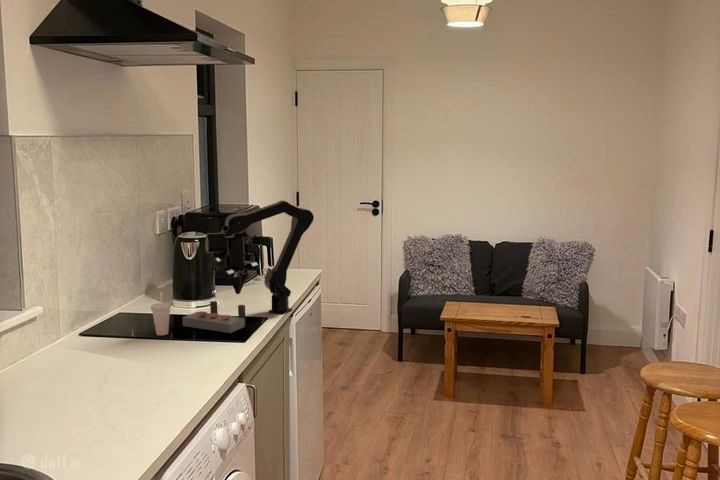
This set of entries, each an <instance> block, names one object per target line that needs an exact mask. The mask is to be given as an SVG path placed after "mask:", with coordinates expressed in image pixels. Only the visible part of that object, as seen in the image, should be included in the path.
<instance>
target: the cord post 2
mask: <svg viewBox="0 0 720 480" xmlns="http://www.w3.org/2000/svg"><path fill="white" fill-rule="evenodd" d="M237 311H238V313H237V315H238V317H239V318H245V324H246V321H247V319H246V305H245V304H238V306H237Z"/></svg>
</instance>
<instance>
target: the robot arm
mask: <svg viewBox="0 0 720 480" xmlns="http://www.w3.org/2000/svg"><path fill="white" fill-rule="evenodd" d="M283 213H285V214H286V215H288V216H289V217H291V221H290V222H291V223H290V230H289V234H288V235H287V237H286V240H285V243H284V244H283V247H282V249H281V252H280V254H279V256H278V258H277V261H276V263H275V265H274V266H273V268H272V269H271V268H269V267H267V271H266V274H265V275H264V276H263V279H264V280H263V281H264V282H263V284H264V286H265V288H266V289H267V290H268V291H269V292H270V294H272V295H271V309H269V310H268V313H275V314H282V315H283V314H287V313H289V312H291V311H293V308H291V307H290V306H289V304H290V302H289V298H290V296H291V292H292V291H291V290H290V289H289V288H288V287H287V286H286V282H287V274H288V268H289V267H290V264H291V262H292V260H293V257H294V255H295V252H296V250H297V248H298V245H299V243H300V240H301V239H302V237H303V235H304V234H305V233H306V231H308V229H309V228H310V227H311V225H312V223H313V221H314V218H315V217H314V213H313V212H312V211H311V210H309V209H306V208H303V207H297V206H295V205H292V204H291V203H290V202H288V201H286V200H279V201H278V202H274V203H271V204H268V205H266V206H263V207H260V208H257V209H254V210H251V211H248V212H238V213H232V214H229V215H228V216H227V217H226V218H225V221H224V225H223V227H222V228H221V230H220V231H219V232H215V233H211V232H209V233H208V232H207V233H205V242H204V245H205V247H204V248H205V252H206V253H207V254H213V253H222V252H225V250H226V251H227V253H225V255H224V258H222V259H221V258H219V257H216V258H212V262H211V264H212V265H211V266H212V268H214V269H216V270H215V271H214V273H213V274H214V275H213V276H214V279H217V280H229V281H230V283H231V284H232V287H233V290H234V293H235V294H236V295H240V294H241V292H242V290H243V287H244V285H245V283H246V281H247V278H248V276H249V275H250V273H249V272H247V271H246V270H249V269H250V270H252V271H253V272H255V271H259V270H260V269H259V264H258V262H257V261H248V260H245V257H246V256H247V255H248V253H247V252H245V238H250V235H249V234H248V233H247V232H246V231H245V230H247V228H250V226H252V225H253V224H255V223H257V222H260V221H264V220H267V219H269V218H272V217H275V216H277V215H280V214H283Z"/></svg>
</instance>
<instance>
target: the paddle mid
mask: <svg viewBox="0 0 720 480" xmlns="http://www.w3.org/2000/svg"><path fill="white" fill-rule="evenodd" d="M218 315H219V313H218V314H217V313H211V312H210V314H209V315H208V317H218Z"/></svg>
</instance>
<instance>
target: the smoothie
mask: <svg viewBox="0 0 720 480" xmlns="http://www.w3.org/2000/svg"><path fill="white" fill-rule="evenodd" d="M159 294H160V296H159V297H160V302H157V303H153V304H151V305H150V310H151V312H152V317H153V323H154V328H155V334H156V335H157V336H165V335H168V334H169V329H170V328H169V327H170V314H171V313H170V312H171V308H172V304H171V303H170V302H163V292H162V291H160V293H159Z"/></svg>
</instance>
